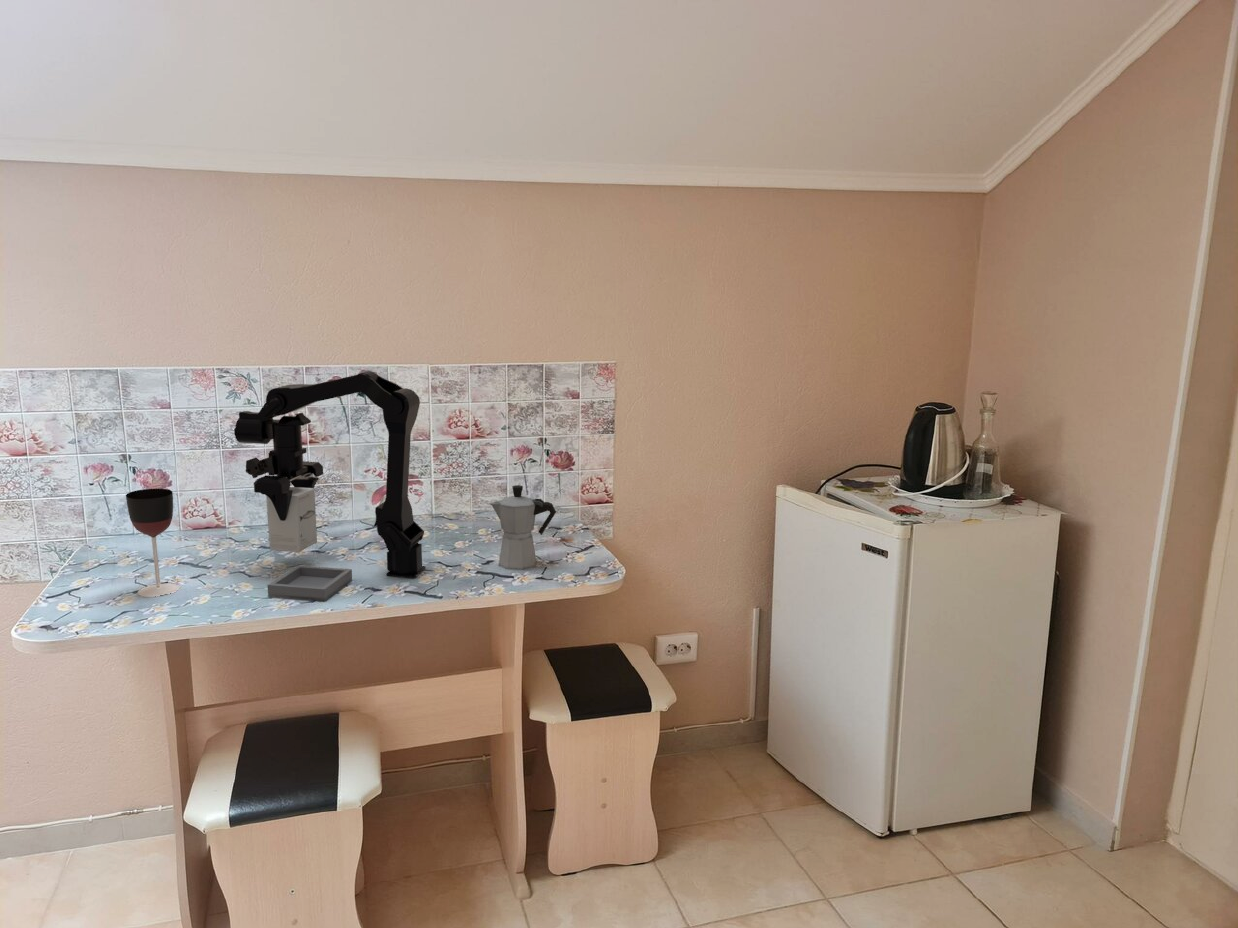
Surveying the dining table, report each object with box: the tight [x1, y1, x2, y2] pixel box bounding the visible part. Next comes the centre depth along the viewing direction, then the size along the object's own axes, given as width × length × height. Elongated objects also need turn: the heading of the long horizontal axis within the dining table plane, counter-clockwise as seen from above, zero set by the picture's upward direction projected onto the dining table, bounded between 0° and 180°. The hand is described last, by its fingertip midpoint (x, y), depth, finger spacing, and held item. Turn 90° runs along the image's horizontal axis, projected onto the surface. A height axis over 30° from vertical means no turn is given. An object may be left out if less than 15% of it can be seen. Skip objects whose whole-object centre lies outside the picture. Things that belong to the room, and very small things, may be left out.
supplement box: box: [266, 486, 318, 553], centre depth 187 cm, size 7×7×13 cm
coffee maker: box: [488, 484, 557, 571], centre depth 192 cm, size 15×9×18 cm, turn 88°
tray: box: [267, 564, 353, 602], centre depth 176 cm, size 12×12×2 cm
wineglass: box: [125, 488, 181, 598], centre depth 171 cm, size 8×9×20 cm
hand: (292, 515), depth 187 cm, fingers closed on supplement box, 7 cm apart
